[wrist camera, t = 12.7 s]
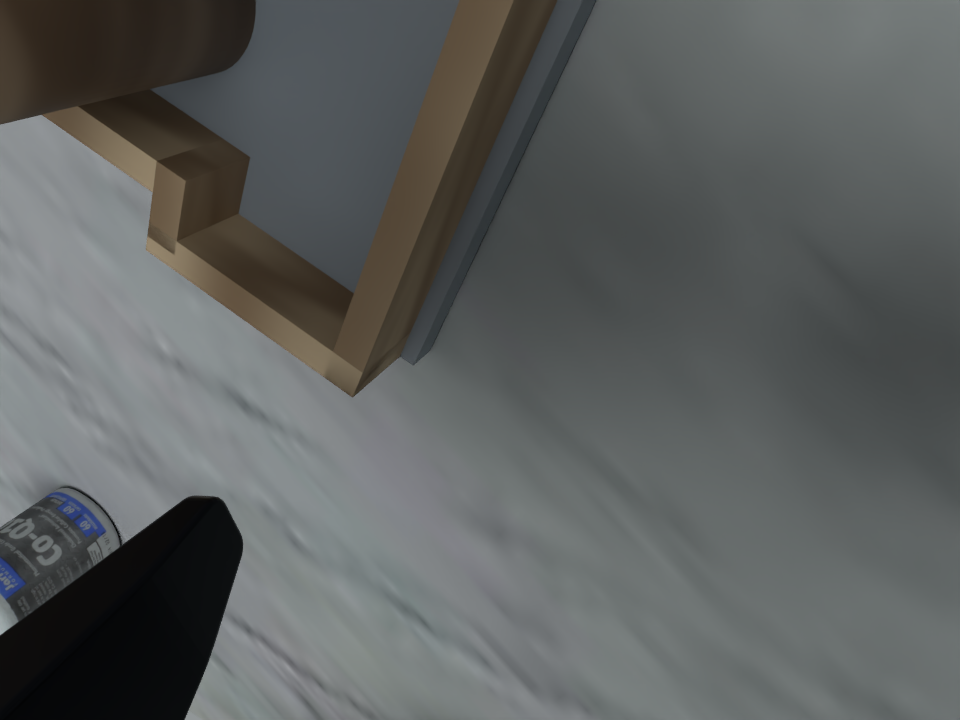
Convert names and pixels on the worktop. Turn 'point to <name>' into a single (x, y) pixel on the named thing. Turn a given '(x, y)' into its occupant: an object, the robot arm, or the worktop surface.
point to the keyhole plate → (341, 164)
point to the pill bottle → (50, 550)
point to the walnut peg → (111, 48)
